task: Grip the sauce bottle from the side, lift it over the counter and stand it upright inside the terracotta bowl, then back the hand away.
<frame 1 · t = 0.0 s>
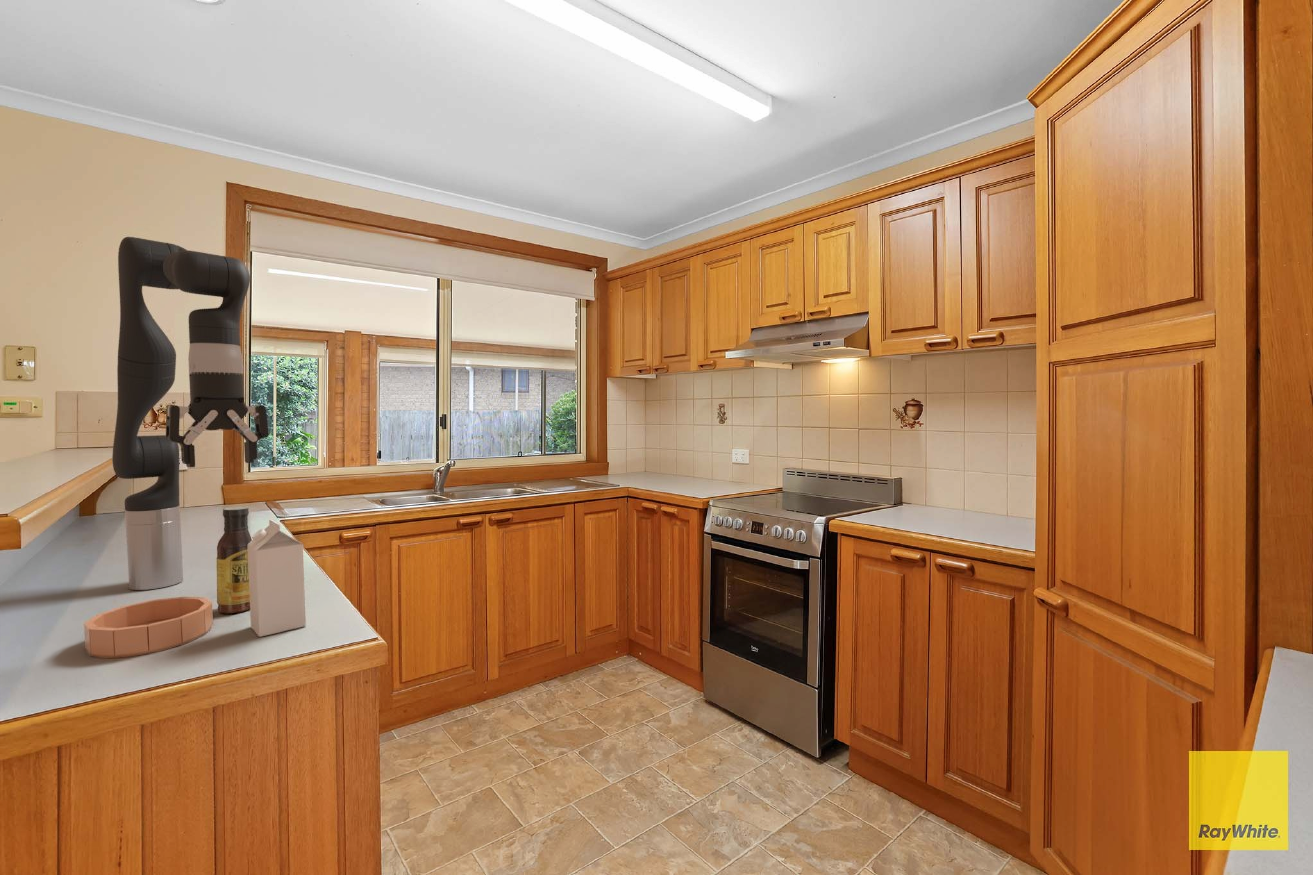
hand: (220, 464, 102), 29 cm above the countertop, tool pointing down, fingers open, 8 cm apart
milk carton: (278, 628, 105), on the countertop
sauce bottle: (238, 610, 114), on the countertop
terracotta bowl: (152, 638, 100), on the countertop
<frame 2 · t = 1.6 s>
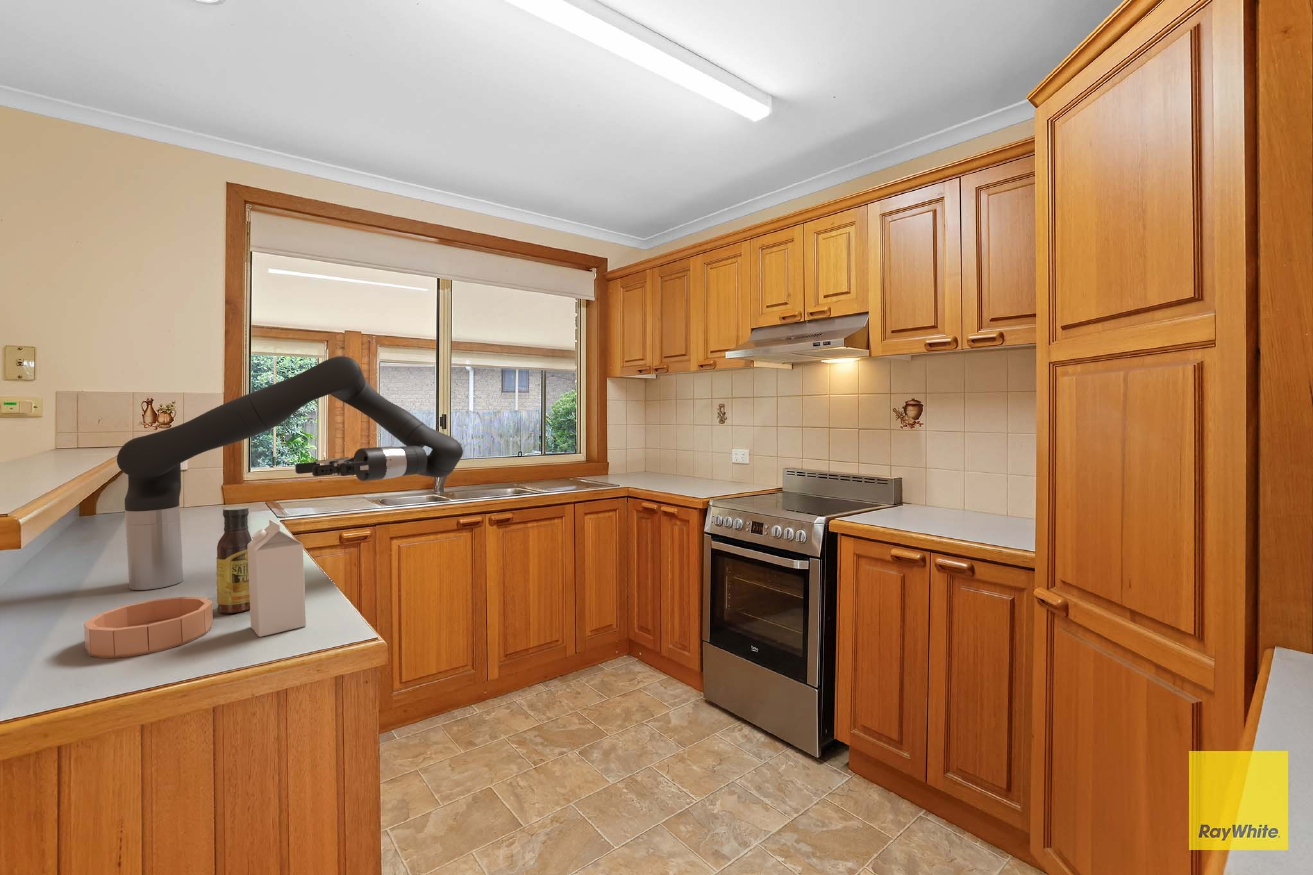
hand: (304, 470, 123), 26 cm above the countertop, tool horizontal, fingers open, 8 cm apart
nothing on the countertop moved.
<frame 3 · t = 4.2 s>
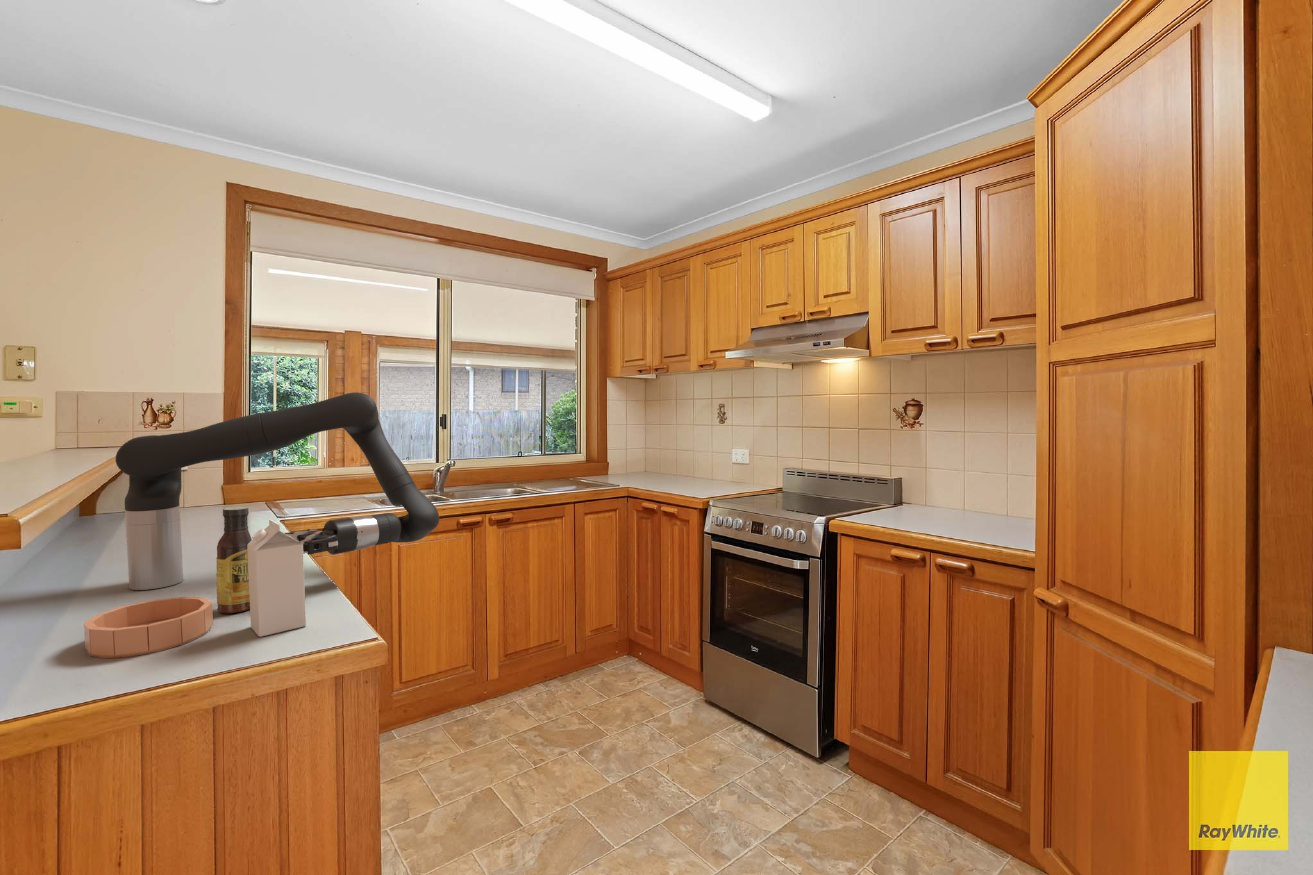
hand: (269, 547, 118), 11 cm above the countertop, tool horizontal, fingers open, 8 cm apart
nothing on the countertop moved.
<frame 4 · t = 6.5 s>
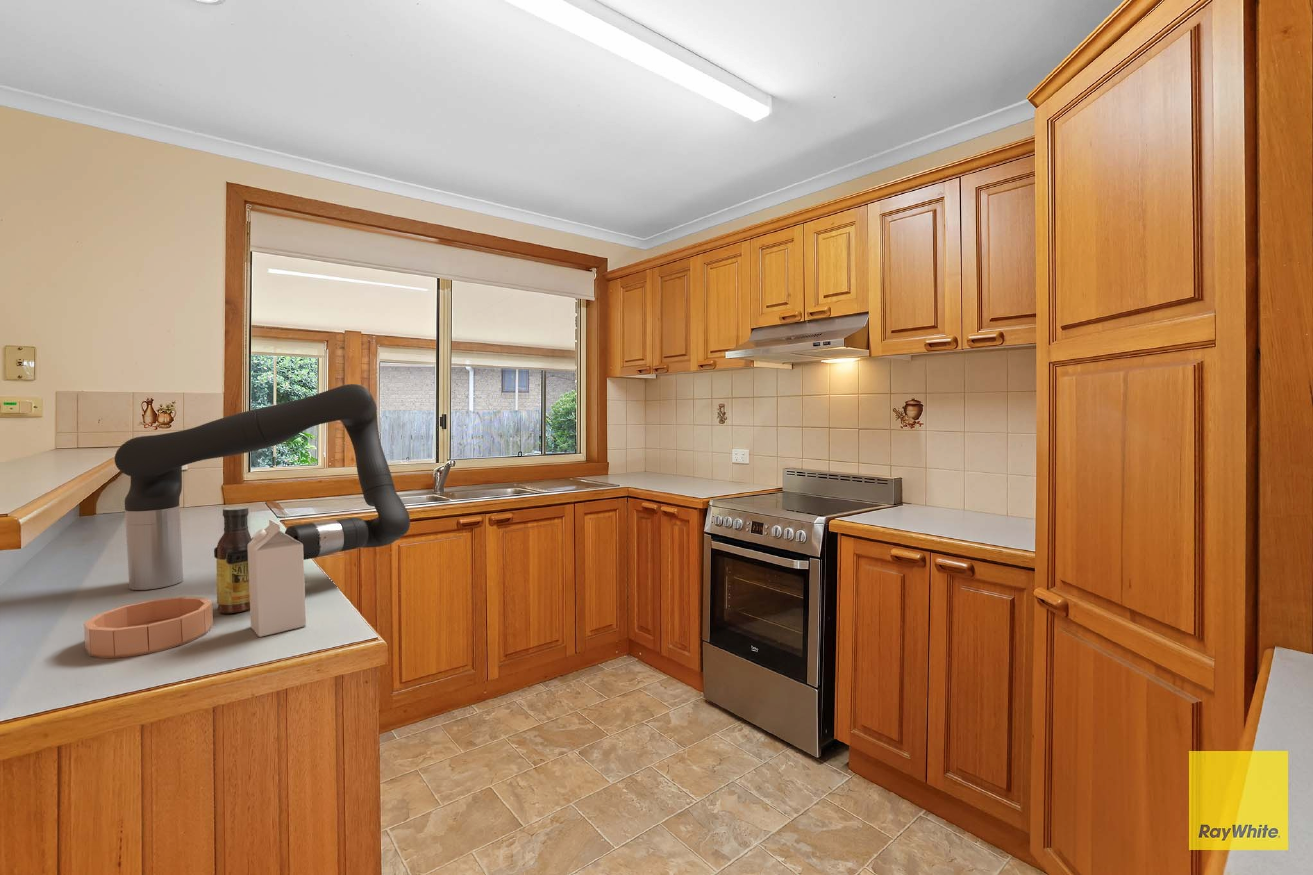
hand: (221, 555, 112), 11 cm above the countertop, tool horizontal, fingers closed on sauce bottle, 6 cm apart
sauce bottle: (238, 610, 114), on the countertop, touching gripper
everything else where it was.
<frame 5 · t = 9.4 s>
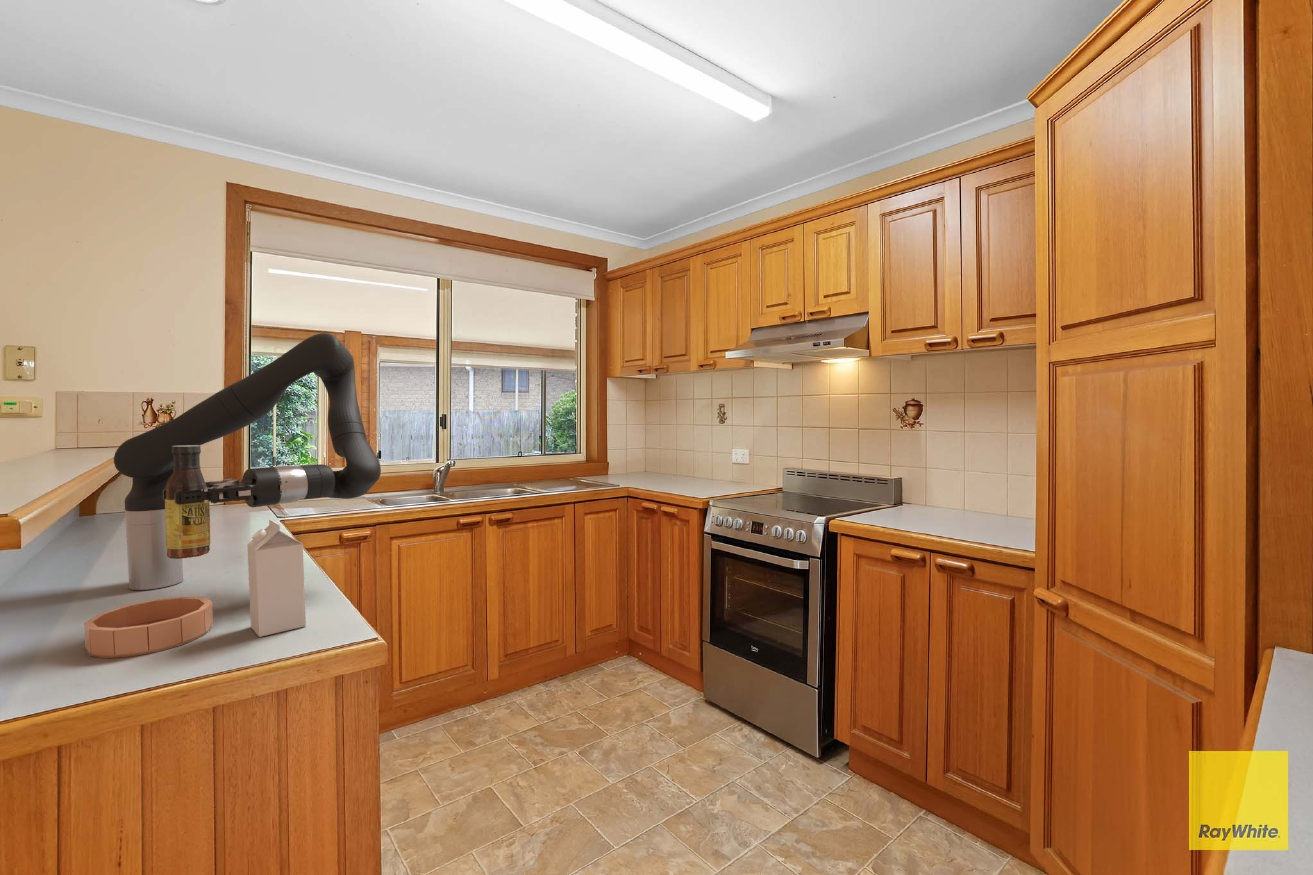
hand: (169, 496, 103), 24 cm above the countertop, tool horizontal, fingers closed on sauce bottle, 6 cm apart
sauce bottle: (190, 556, 106), point 12 cm above the countertop, touching gripper
everything else where it was.
when the fingers open (13 cm above the countertop, at t = 12.5 s): sauce bottle drops 1 cm, resting on terracotta bowl.
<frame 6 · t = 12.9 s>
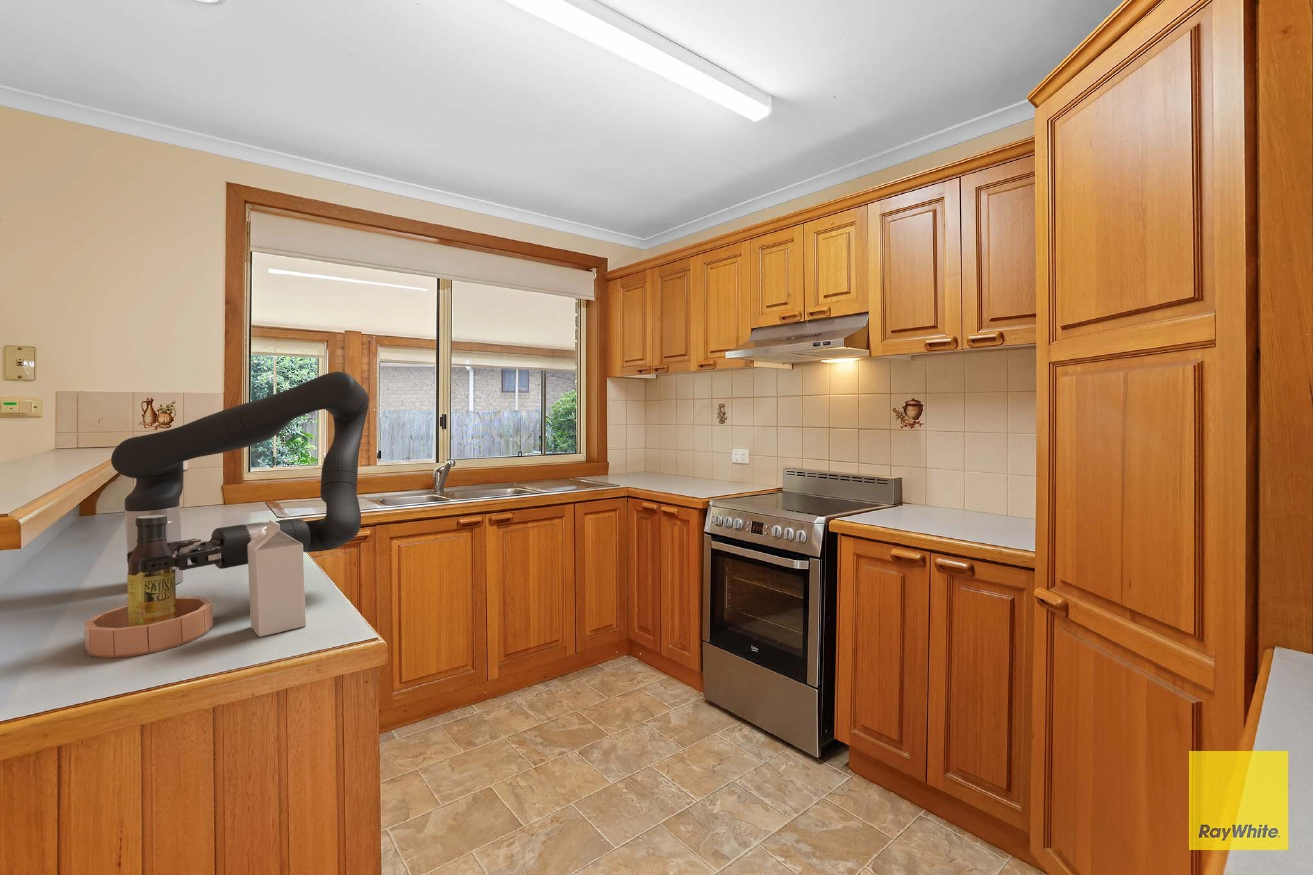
hand: (133, 562, 98), 14 cm above the countertop, tool horizontal, fingers open, 8 cm apart
sauce bottle: (153, 633, 100), point 1 cm above the countertop, touching terracotta bowl
everything else where it was.
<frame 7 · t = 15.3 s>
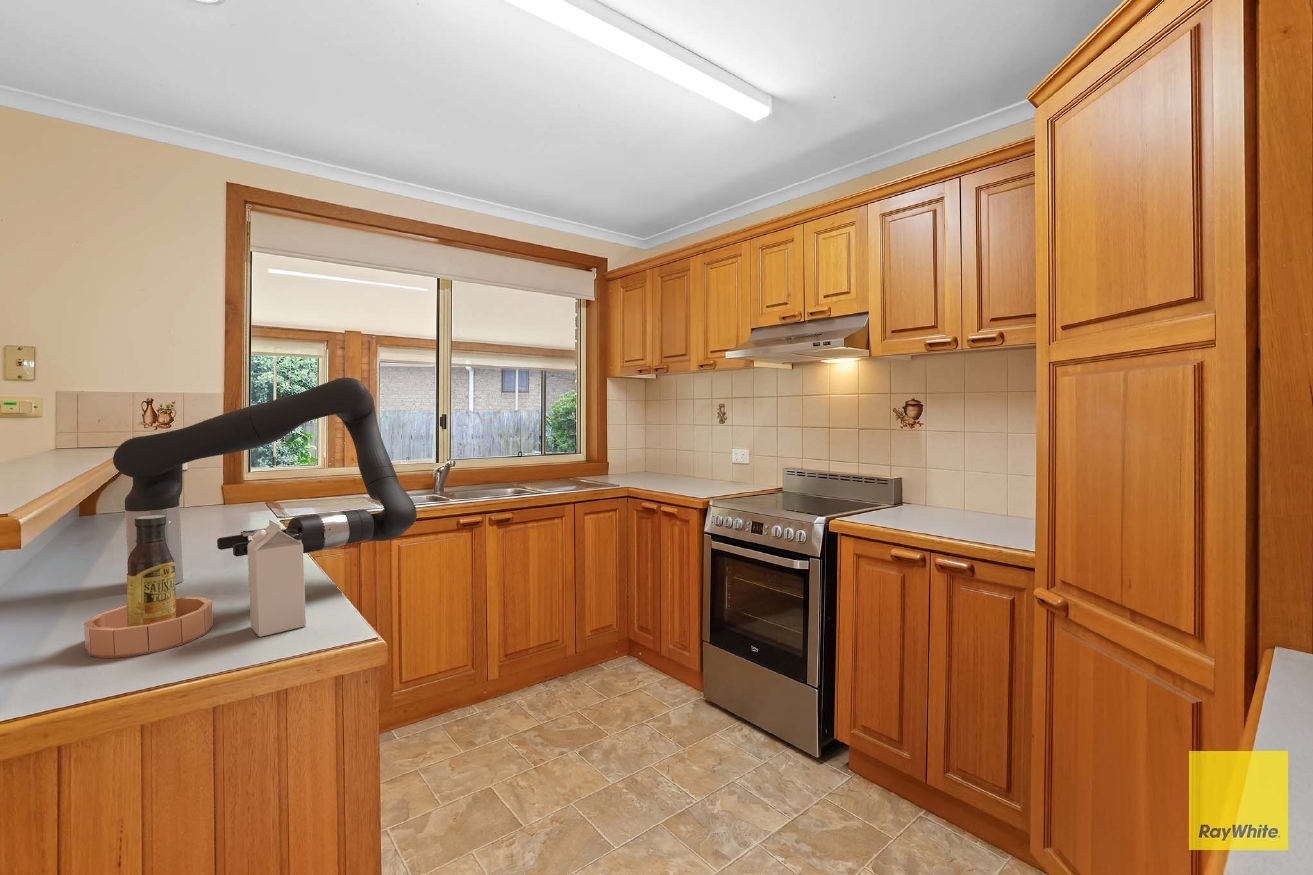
hand: (225, 547, 108), 14 cm above the countertop, tool horizontal, fingers open, 8 cm apart
nothing on the countertop moved.
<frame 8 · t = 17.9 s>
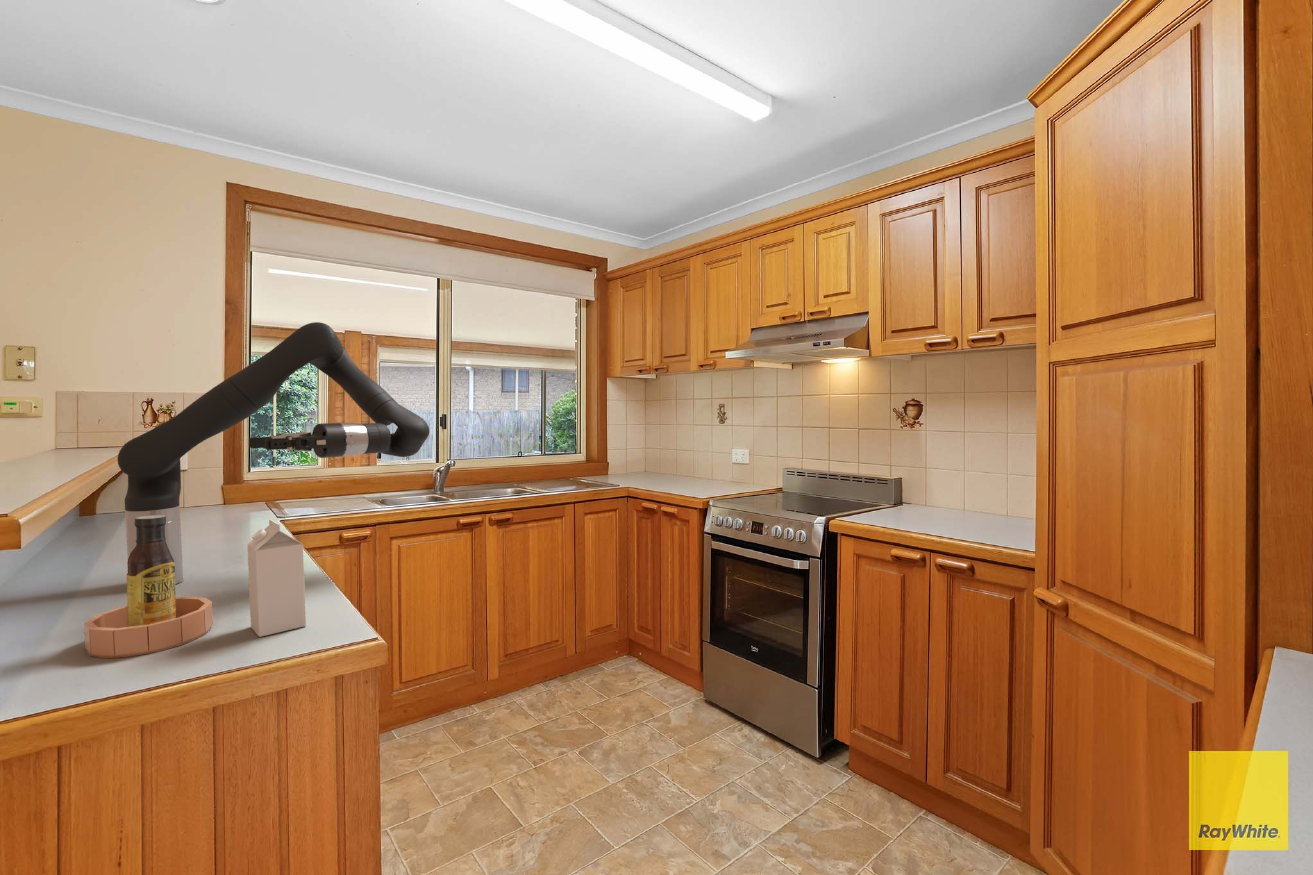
hand: (257, 443, 118), 32 cm above the countertop, tool horizontal, fingers open, 8 cm apart
nothing on the countertop moved.
at the end: sauce bottle inside the target area on the terracotta bowl (0.2 cm from its centre), point 0.8 cm above the terracotta bowl's base; sauce bottle tilted 0°; the gripper is holding nothing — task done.
